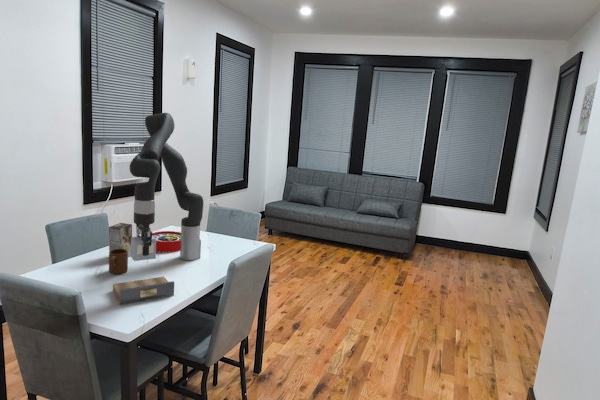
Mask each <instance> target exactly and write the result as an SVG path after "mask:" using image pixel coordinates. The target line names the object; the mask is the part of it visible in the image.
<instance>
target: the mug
mask: <svg viewBox="0 0 600 400" xmlns="http://www.w3.org/2000/svg"><path fill="white" fill-rule="evenodd" d="M128 259H129V257H128V251H127V250H125V249H114V250H111V251H110V252H109V251H108V271H109V274H111V275H123V274H125V273H127V272H128V267H129V266H128V264H129V263H128V262H129V260H128Z"/></svg>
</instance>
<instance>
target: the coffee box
mask: <svg viewBox="0 0 600 400" xmlns="http://www.w3.org/2000/svg"><path fill="white" fill-rule="evenodd" d="M131 237H133V224H132V223H125V222H120V223H119V222H118V223H117V224H114V225H110V226H109V227H108V248H109V249H108V253H109V252H110V251H111V250H114V249H125V250H127V251H128V258H129V257H131Z"/></svg>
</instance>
